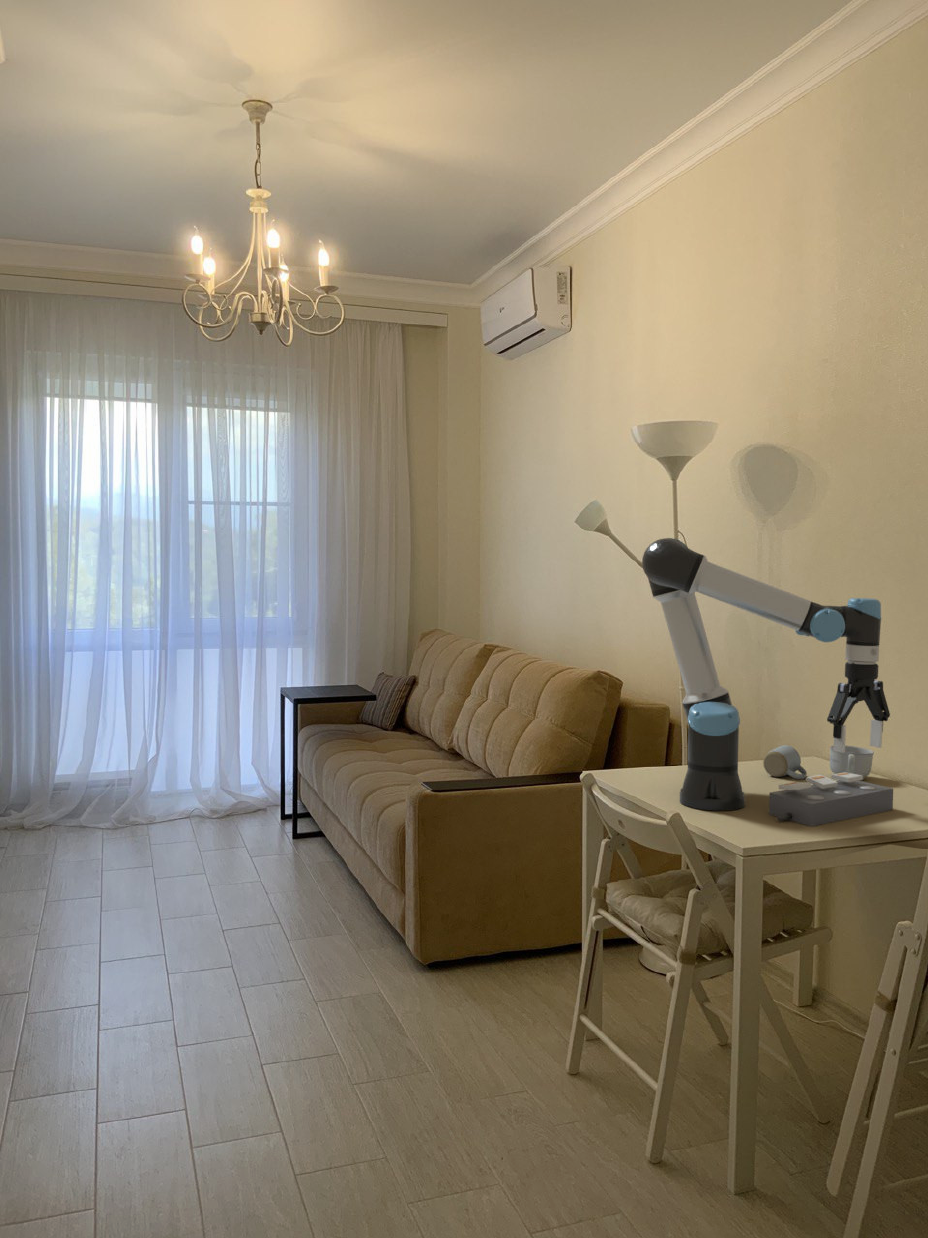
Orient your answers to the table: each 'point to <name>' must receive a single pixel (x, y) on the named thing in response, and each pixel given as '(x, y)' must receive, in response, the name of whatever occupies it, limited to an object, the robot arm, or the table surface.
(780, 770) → the ceramic mug
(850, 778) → the rocker
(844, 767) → the teacup
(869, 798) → the power strip
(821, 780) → the rocker
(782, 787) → the rocker
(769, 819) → the table surface
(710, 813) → the table surface
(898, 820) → the table surface
